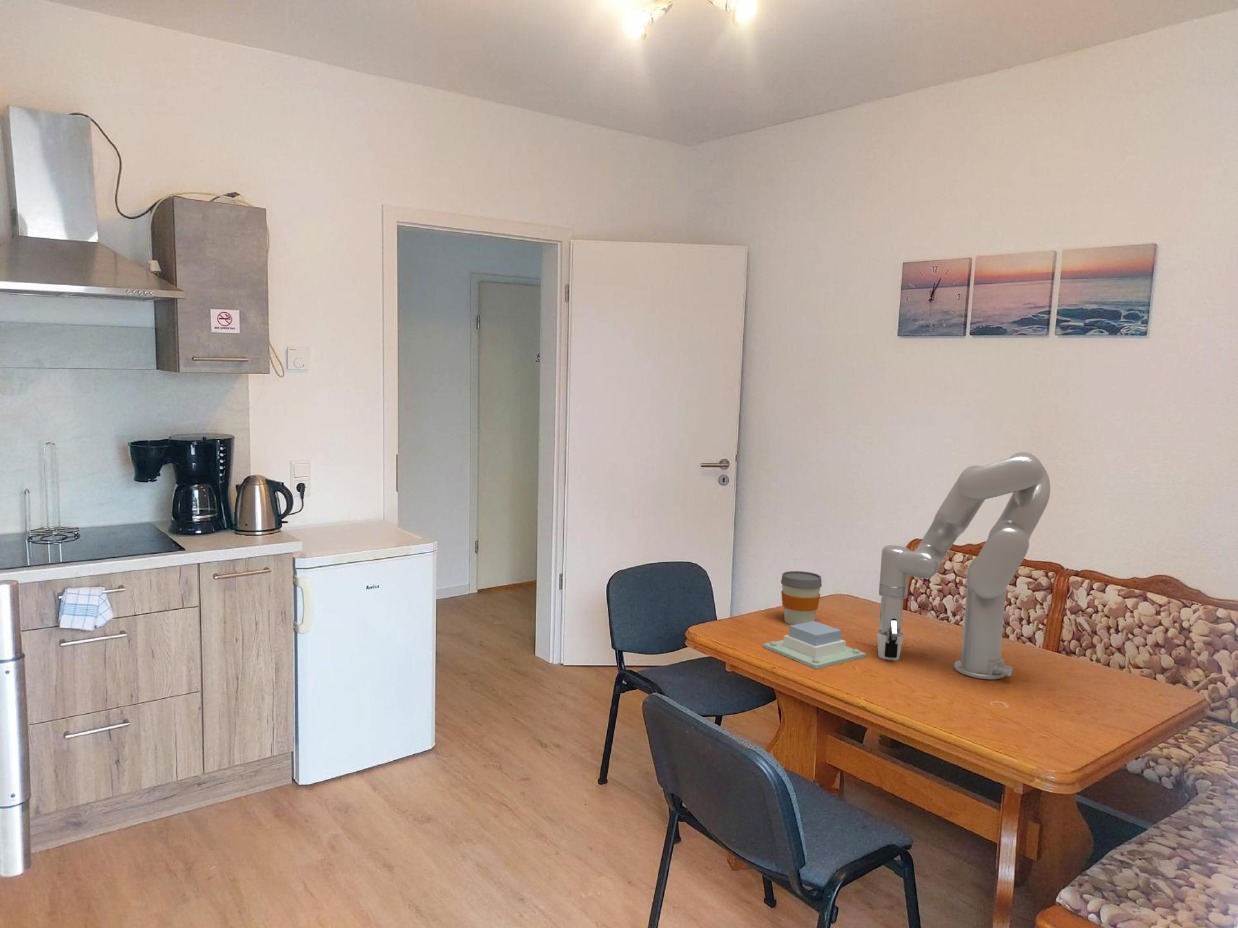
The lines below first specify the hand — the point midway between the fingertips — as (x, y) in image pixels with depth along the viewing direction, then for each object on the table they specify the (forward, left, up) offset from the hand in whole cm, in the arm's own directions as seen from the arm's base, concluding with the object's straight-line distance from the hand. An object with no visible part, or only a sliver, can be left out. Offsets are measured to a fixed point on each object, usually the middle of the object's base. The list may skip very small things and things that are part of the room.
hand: (888, 652), depth 232 cm
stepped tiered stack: (+13, +16, -1) cm, 21 cm away
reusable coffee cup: (+36, -2, -2) cm, 36 cm away
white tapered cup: (0, 0, -2) cm, 2 cm away
